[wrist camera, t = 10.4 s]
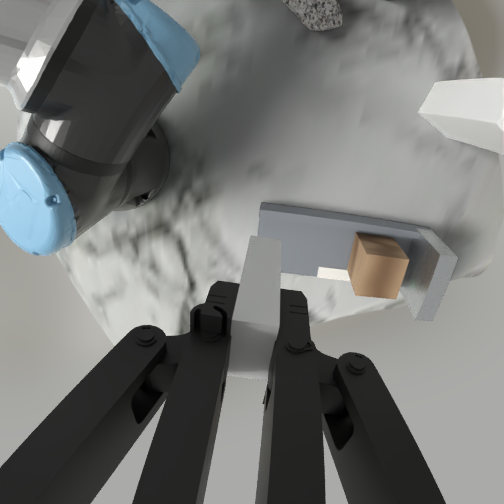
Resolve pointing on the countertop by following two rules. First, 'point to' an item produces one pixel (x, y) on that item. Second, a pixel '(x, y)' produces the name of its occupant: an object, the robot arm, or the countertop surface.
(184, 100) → the countertop surface
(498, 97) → the milk
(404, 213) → the countertop surface
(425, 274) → the grey metal block
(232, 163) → the countertop surface
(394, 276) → the block
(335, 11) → the rock
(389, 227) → the gauge track
